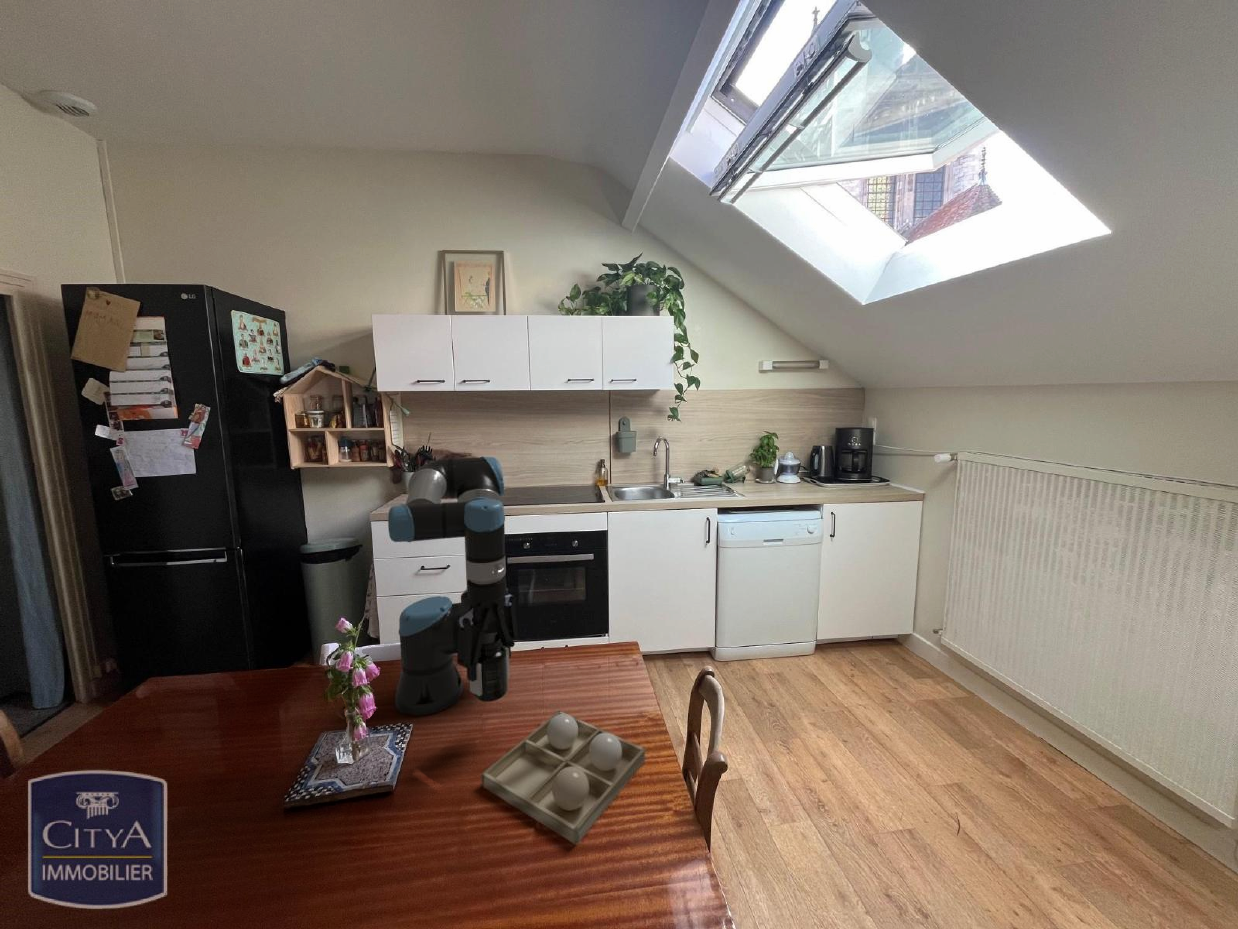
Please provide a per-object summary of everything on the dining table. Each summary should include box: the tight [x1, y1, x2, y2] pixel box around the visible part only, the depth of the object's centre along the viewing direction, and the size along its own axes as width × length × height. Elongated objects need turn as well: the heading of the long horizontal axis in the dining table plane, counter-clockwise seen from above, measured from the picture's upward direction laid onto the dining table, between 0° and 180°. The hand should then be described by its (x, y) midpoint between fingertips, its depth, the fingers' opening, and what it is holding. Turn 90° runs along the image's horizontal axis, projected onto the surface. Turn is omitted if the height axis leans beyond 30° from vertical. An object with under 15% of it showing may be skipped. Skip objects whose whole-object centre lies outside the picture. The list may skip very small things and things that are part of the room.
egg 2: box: [552, 767, 589, 811], centre depth 85 cm, size 6×6×6 cm
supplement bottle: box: [473, 633, 509, 703], centre depth 100 cm, size 7×7×12 cm
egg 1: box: [547, 713, 578, 750], centre depth 99 cm, size 6×6×6 cm
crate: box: [481, 710, 646, 846], centre depth 92 cm, size 22×22×4 cm
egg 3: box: [589, 732, 622, 771], centre depth 94 cm, size 6×6×6 cm
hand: (490, 683), depth 101 cm, fingers closed on supplement bottle, 7 cm apart
